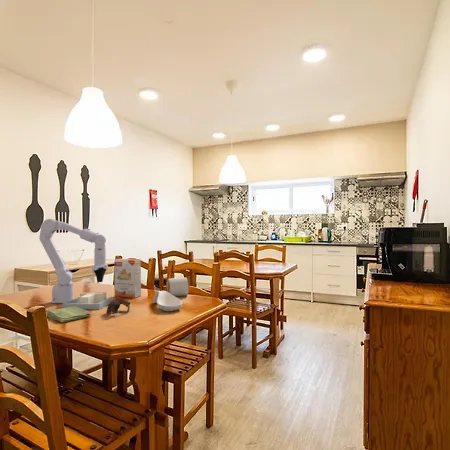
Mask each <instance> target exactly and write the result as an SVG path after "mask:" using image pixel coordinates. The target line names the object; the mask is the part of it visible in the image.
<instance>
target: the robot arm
mask: <svg viewBox="0 0 450 450" xmlns="http://www.w3.org/2000/svg"><path fill="white" fill-rule="evenodd" d="M58 230H59V231H60V230H61V231H62V230H63V231H67V232H70V233H73V234H75V235H79V238H80V239H82V240H84V241H86V242H89V243H91V244H92V243H94V250H93V252H94V253H93V254H94V256H93V257H94V258H93V259H94V260H93V262H94V263H93V264H94V265H93V266H92V267H91V269H92V271H93V273H94V274H95V277H96V280H97V283H103V281H104V277H105V274H106V272H107V268H108V266H109V265H108V263H106V260H107V258H106V257H107V255H106V254H107V251H106V240H107V238H106V236H104V235H103V234H100V232H95V231H93V230H91V229H90V228H83V229H81V228H78V227H76V226H73V225H72V224H69V223H67V222H65V221H62V220H61V221H60V220H56V219H53V218H47V219H45V220H44V221H43V222H42V223H41V225H40V232H39V241H40V243H41V245H42V247H43V249H44V251H45V253H46V254H47V256H48V258H49V260H50V262H51V264H52V267H53V268H54V271H55V274H56V277H57V278H56V279H57V280H56V281H57V284H55V285H53V286H52V289H51V302H50V303H51V304H63V303H65V302H67V301H70V300H72V299H74V283H73V281H72V280H73V278H74V274H73V272H72V271H70V270H69V268H68V267H67V266H66V264H65V263H64V261H63V260H62V257H61V255H60V253H59V251H58V249H57V247H56V245H55V244H54V242H53V240H52V237H53V235H54V234H55V232H57V231H58Z"/></svg>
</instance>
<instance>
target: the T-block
mask: <svg viewBox="0 0 450 450" xmlns="http://www.w3.org/2000/svg"><path fill="white" fill-rule="evenodd" d="M79 297H80V302H79V303H100V302H102V301H104V300H105V299H107V291H103V292H102V291H100V292H99V291H92V292H89V291H88V292H86V291H84V292H81V293H79Z"/></svg>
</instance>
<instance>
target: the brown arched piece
mask: <svg viewBox="0 0 450 450" xmlns="http://www.w3.org/2000/svg"><path fill="white" fill-rule="evenodd" d="M130 304H131V302H130V301H128V300H127V299H125V298H123V297H119V296H115V298H113V300H111V302H110V303H109V304H108V305H107V309H106V314H107V315H109V316H111V315H112V314H118V310H119V309H120V307H121V305H123V306H125V307H126V308H127V310H126V312H127V313H130V307H131V305H130Z"/></svg>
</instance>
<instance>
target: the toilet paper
mask: <svg viewBox="0 0 450 450" xmlns="http://www.w3.org/2000/svg"><path fill="white" fill-rule="evenodd" d="M166 285H167V286H166V288H167V291H166V292H168V293H170V294H171V295H173V296H175V297H182V296H183V297H184V296H188V294H189V280H188V278H187V277H173V278H168V279H167V283H166Z"/></svg>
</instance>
